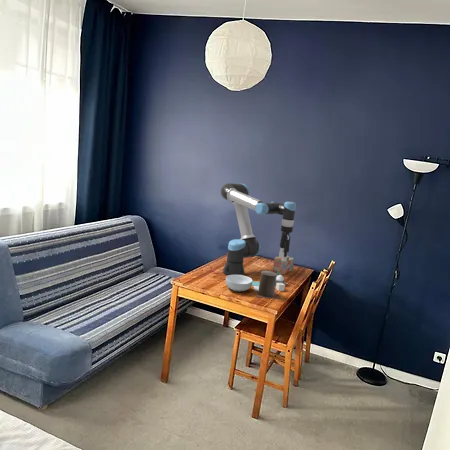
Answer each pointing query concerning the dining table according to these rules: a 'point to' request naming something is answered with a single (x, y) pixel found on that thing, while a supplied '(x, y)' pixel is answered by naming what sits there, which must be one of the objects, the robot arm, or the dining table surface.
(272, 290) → the pillar candle
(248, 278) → the cereal bowl
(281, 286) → the die
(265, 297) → the ring
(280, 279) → the dome
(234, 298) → the dining table surface
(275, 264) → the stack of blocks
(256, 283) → the pad
